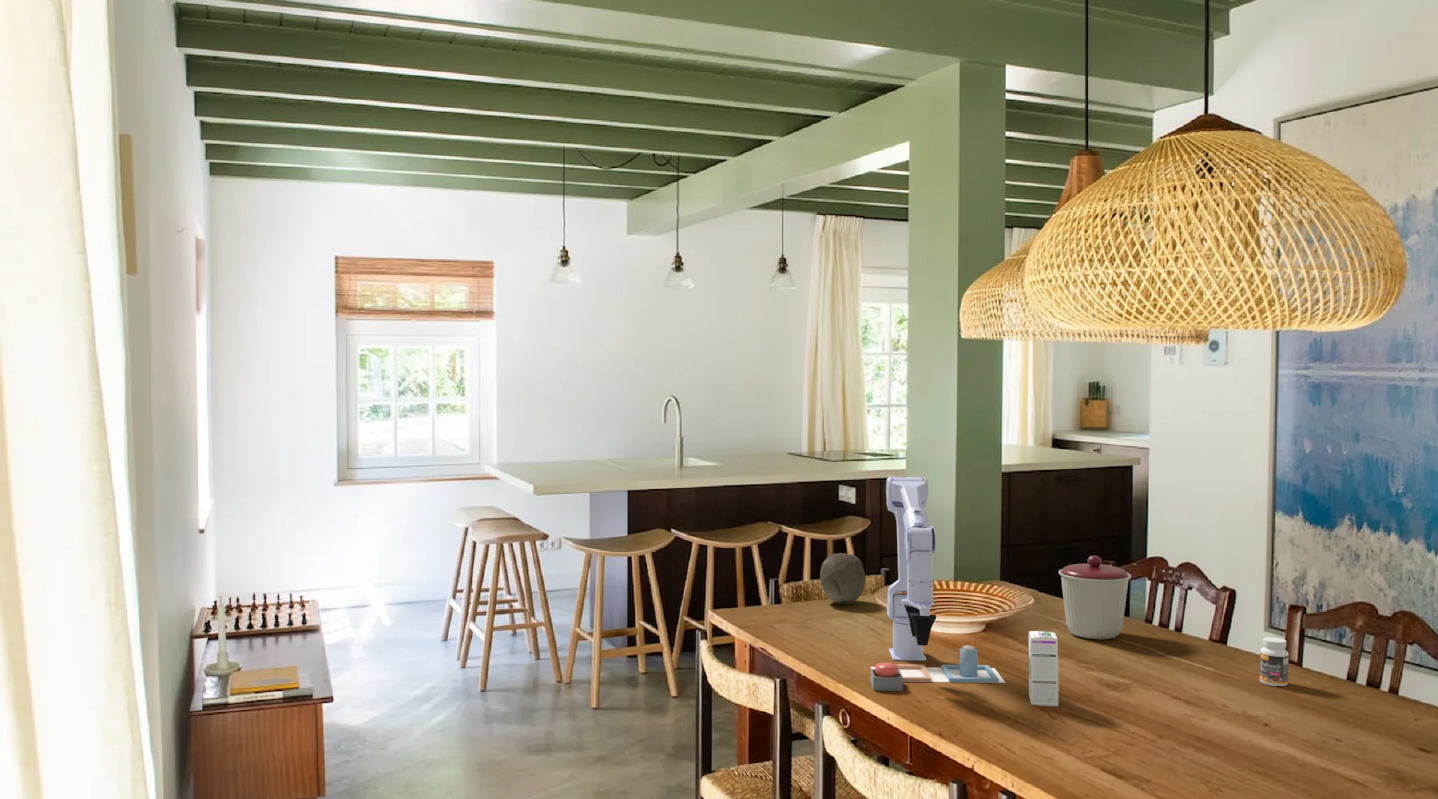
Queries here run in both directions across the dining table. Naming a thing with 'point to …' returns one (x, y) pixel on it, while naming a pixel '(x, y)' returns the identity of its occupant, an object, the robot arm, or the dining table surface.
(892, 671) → the button
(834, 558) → the grey boulder
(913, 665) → the region terracotta
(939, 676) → the sheet
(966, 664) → the blue cylinder
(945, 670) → the region blue
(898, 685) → the button base
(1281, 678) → the pill bottle
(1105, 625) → the canister
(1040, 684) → the syrup box
